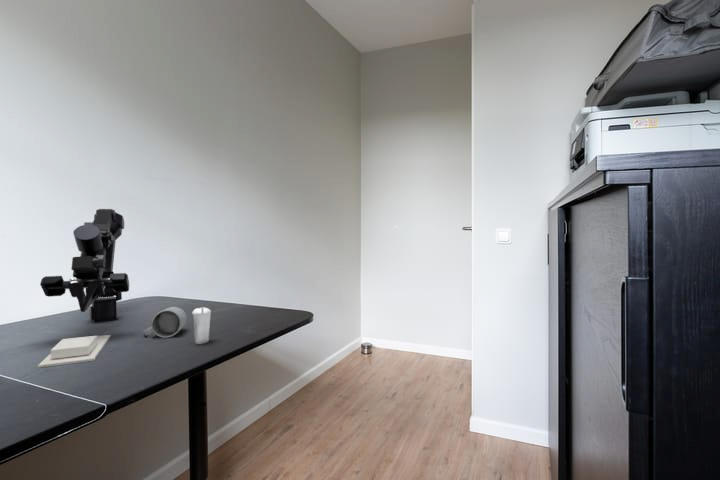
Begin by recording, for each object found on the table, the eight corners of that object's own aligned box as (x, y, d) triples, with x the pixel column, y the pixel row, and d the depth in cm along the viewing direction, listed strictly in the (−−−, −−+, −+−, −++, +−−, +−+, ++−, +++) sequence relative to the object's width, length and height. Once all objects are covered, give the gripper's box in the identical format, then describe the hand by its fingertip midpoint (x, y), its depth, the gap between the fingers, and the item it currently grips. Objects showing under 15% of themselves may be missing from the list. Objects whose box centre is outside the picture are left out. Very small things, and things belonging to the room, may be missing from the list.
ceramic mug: (188, 328, 109) (187, 303, 109) (181, 336, 101) (180, 309, 101) (149, 331, 107) (148, 305, 106) (139, 340, 99) (137, 312, 99)
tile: (62, 339, 90) (50, 350, 82) (97, 335, 93) (88, 346, 85) (63, 348, 90) (50, 360, 82) (97, 344, 93) (88, 355, 85)
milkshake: (193, 346, 93) (192, 307, 93) (192, 340, 98) (191, 303, 97) (212, 344, 95) (211, 306, 95) (210, 338, 100) (209, 302, 99)
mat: (65, 341, 97) (65, 339, 97) (110, 336, 101) (110, 334, 101) (37, 367, 79) (37, 365, 79) (94, 360, 83) (94, 358, 83)
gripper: (41, 245, 94) (26, 296, 84) (127, 244, 102) (121, 290, 92) (52, 271, 101) (39, 321, 92) (131, 268, 109) (126, 313, 100)
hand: (82, 311), depth 94 cm, fingers closed
